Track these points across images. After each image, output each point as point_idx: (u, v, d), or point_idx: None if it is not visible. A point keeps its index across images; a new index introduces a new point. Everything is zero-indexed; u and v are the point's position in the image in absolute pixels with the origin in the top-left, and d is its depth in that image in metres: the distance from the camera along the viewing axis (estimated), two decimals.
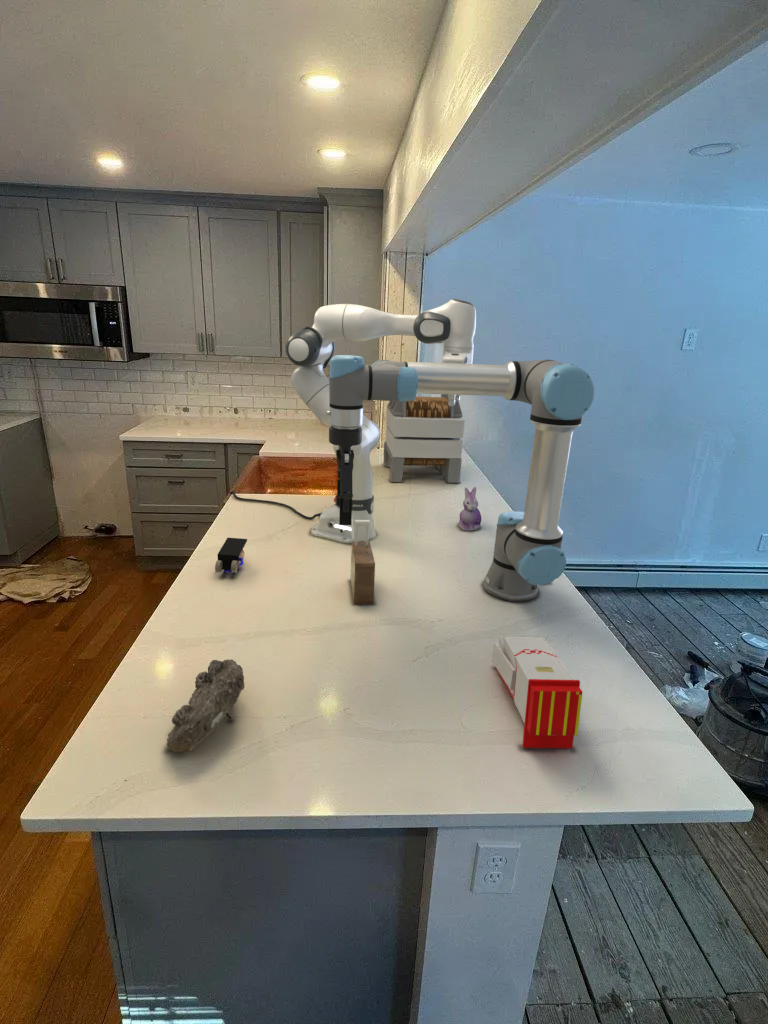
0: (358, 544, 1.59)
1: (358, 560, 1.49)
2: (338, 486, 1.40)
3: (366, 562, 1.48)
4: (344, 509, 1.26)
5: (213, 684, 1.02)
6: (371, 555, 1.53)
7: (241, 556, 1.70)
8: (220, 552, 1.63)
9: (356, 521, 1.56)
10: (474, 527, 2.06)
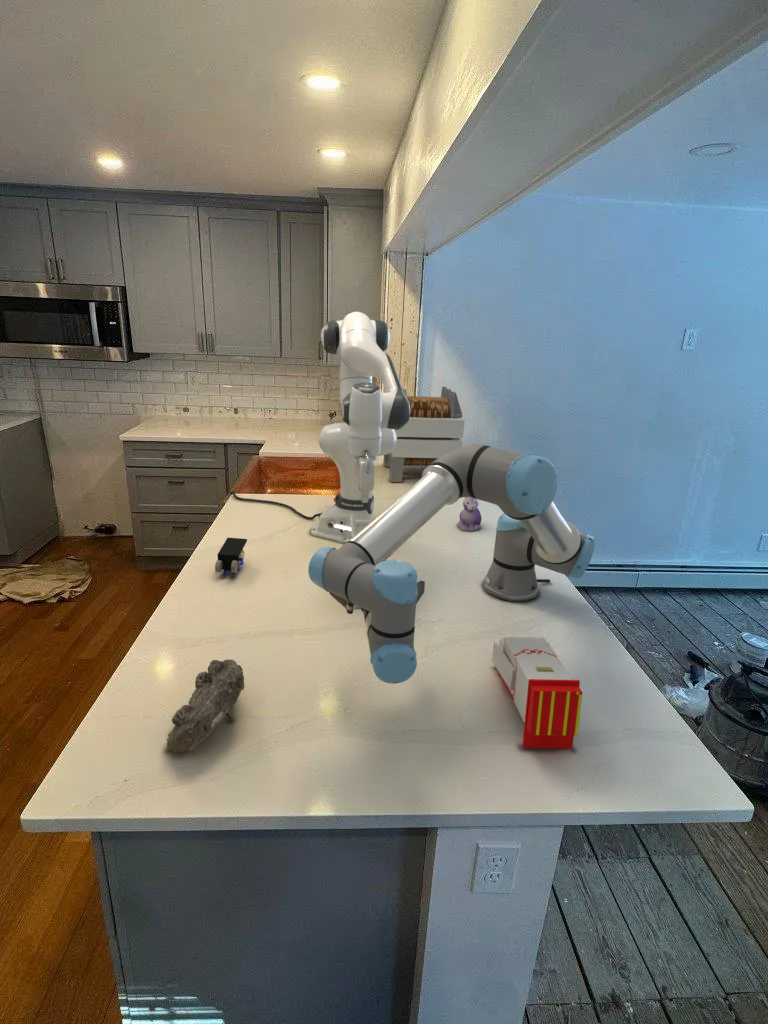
0: None
1: None
2: None
3: None
4: None
5: (213, 684, 1.02)
6: None
7: (241, 556, 1.70)
8: (220, 552, 1.63)
9: (356, 521, 1.56)
10: (474, 527, 2.06)
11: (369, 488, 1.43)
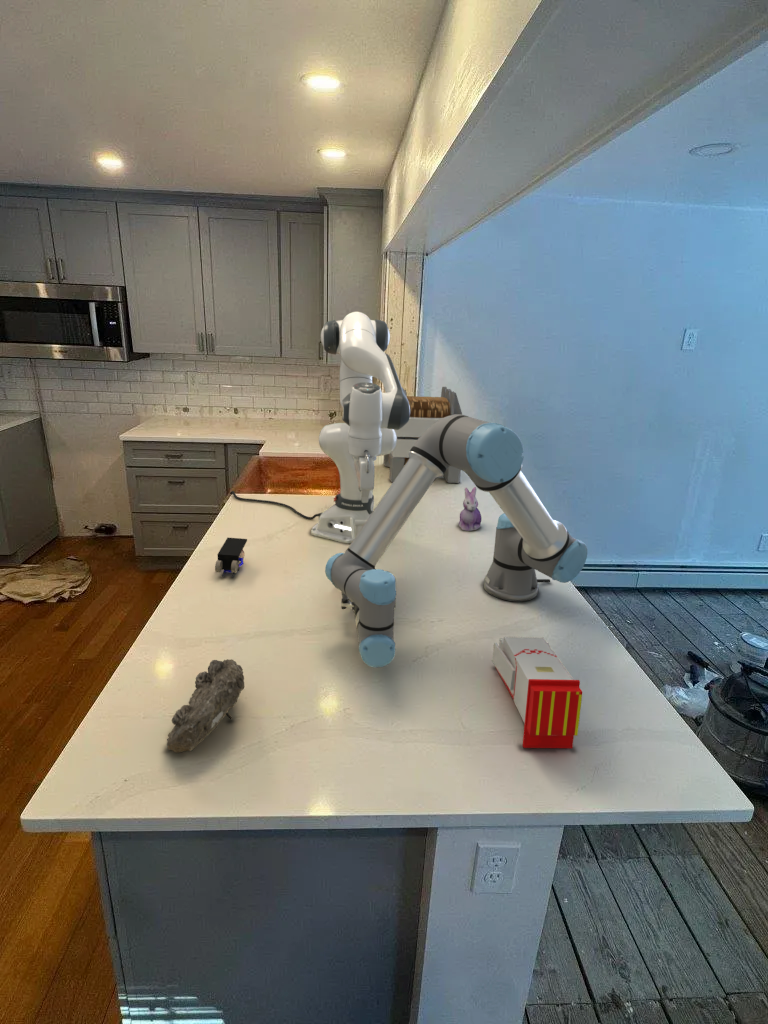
0: None
1: None
2: None
3: None
4: None
5: (213, 684, 1.02)
6: None
7: (241, 556, 1.70)
8: (220, 552, 1.63)
9: (356, 521, 1.56)
10: (474, 527, 2.06)
11: (369, 488, 1.43)
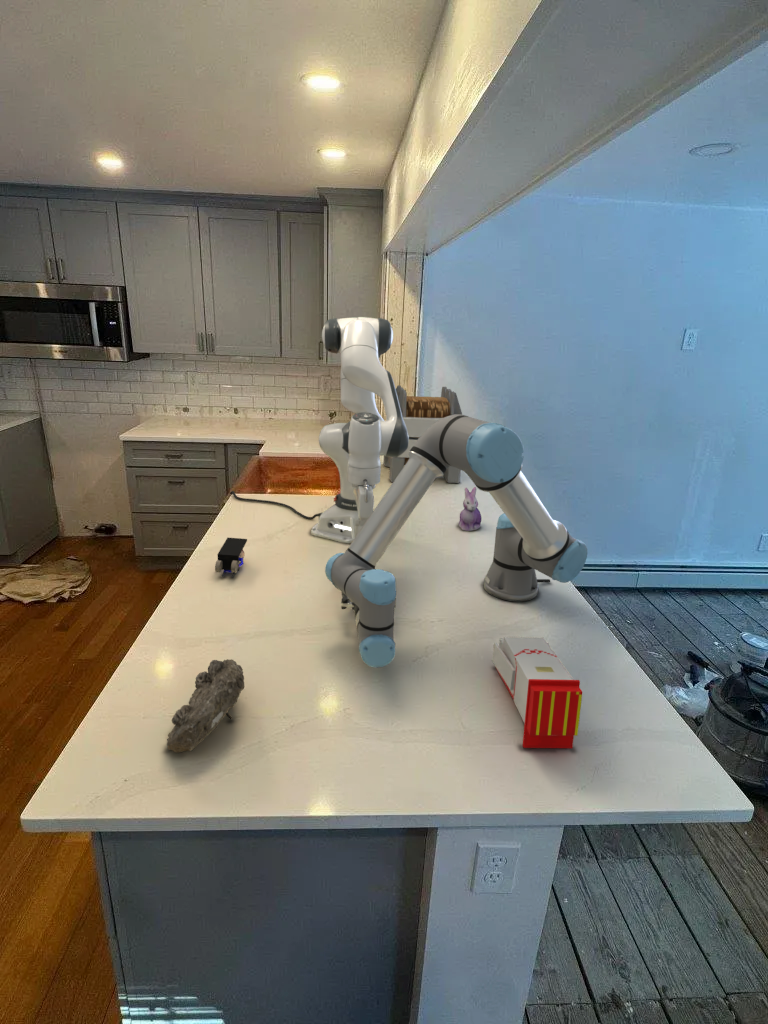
0: None
1: None
2: None
3: None
4: None
5: (213, 684, 1.02)
6: None
7: (241, 556, 1.70)
8: (220, 552, 1.63)
9: (356, 521, 1.56)
10: (474, 527, 2.06)
11: (368, 517, 1.46)
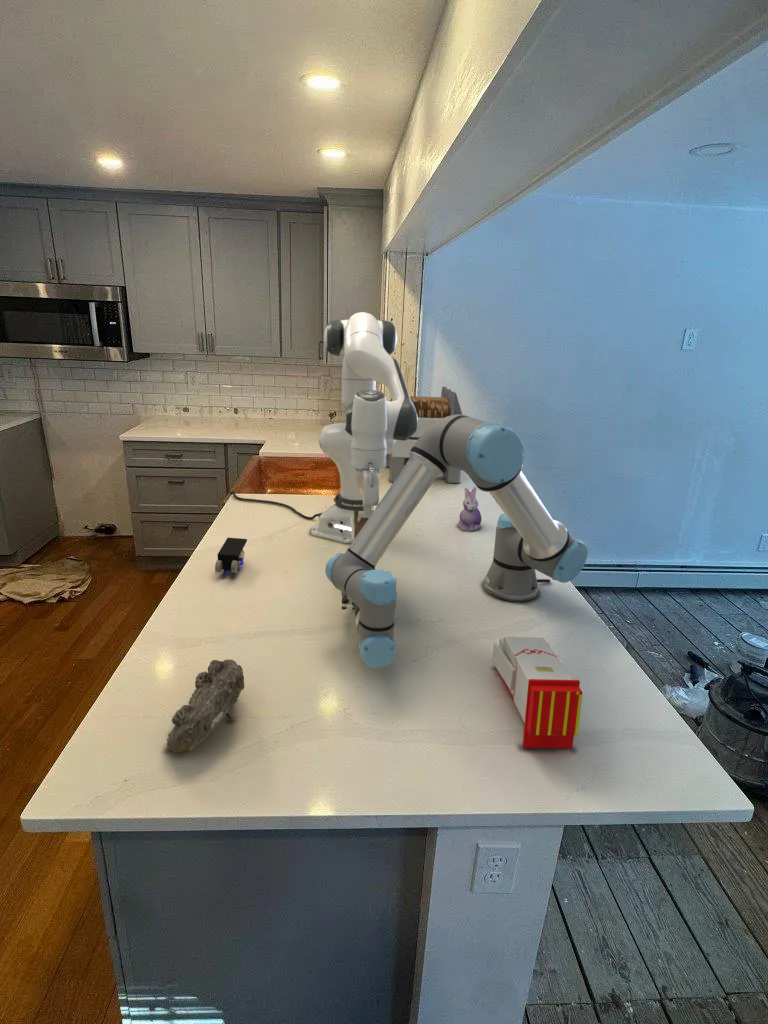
0: (361, 518, 1.50)
1: None
2: None
3: None
4: None
5: (213, 684, 1.02)
6: None
7: (241, 556, 1.70)
8: (220, 552, 1.63)
9: (360, 515, 1.43)
10: (474, 527, 2.06)
11: (373, 503, 1.32)
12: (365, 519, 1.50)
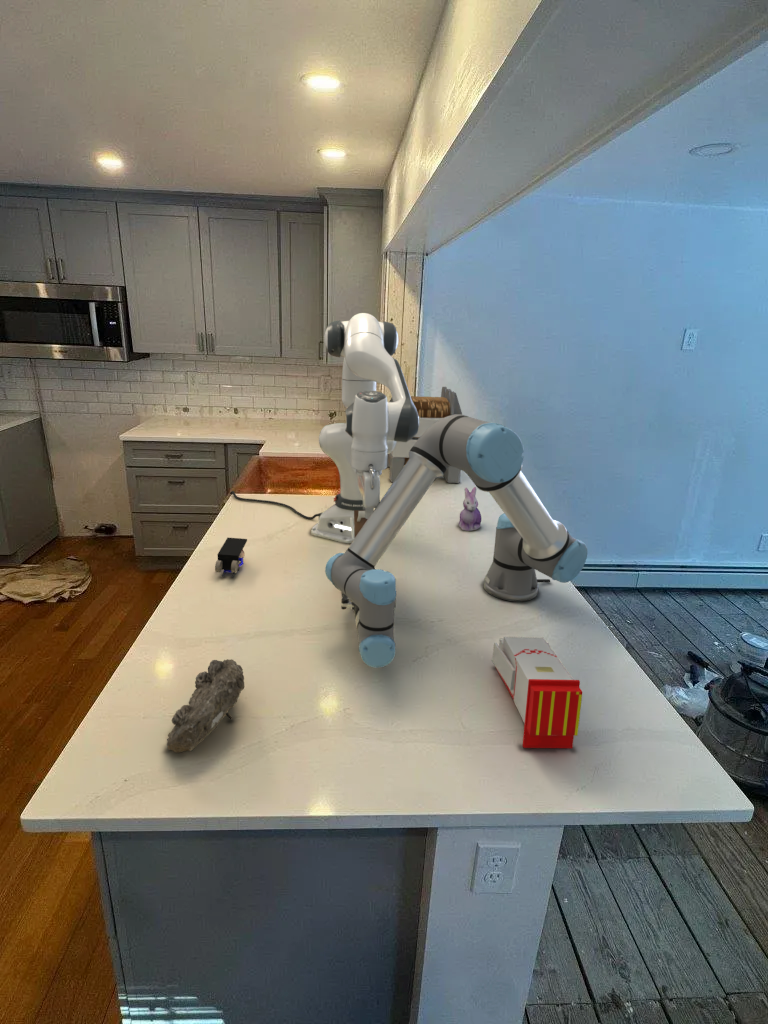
0: (361, 518, 1.50)
1: None
2: None
3: None
4: None
5: (213, 684, 1.02)
6: None
7: (241, 556, 1.70)
8: (220, 552, 1.63)
9: (360, 515, 1.43)
10: (474, 527, 2.06)
11: (374, 506, 1.31)
12: (365, 519, 1.50)
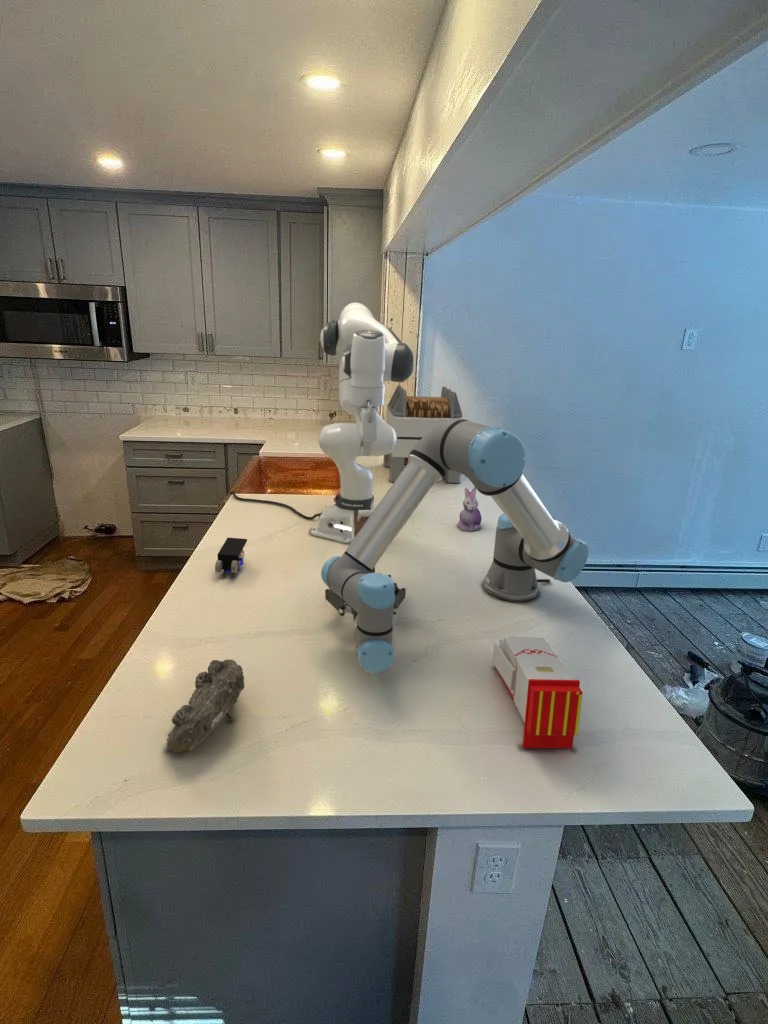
0: (361, 518, 1.51)
1: None
2: None
3: None
4: None
5: (213, 684, 1.02)
6: None
7: (241, 556, 1.70)
8: (220, 552, 1.63)
9: (360, 514, 1.43)
10: (474, 527, 2.06)
11: (372, 439, 1.37)
12: (365, 519, 1.51)
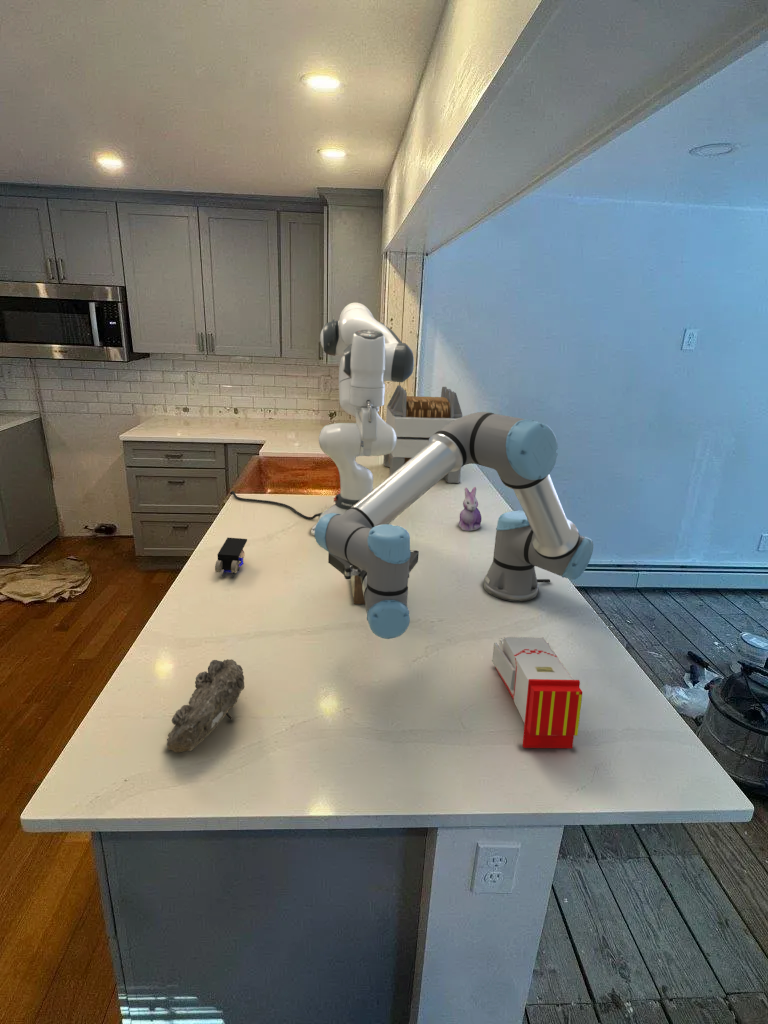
0: None
1: None
2: None
3: None
4: None
5: (213, 684, 1.02)
6: None
7: (241, 556, 1.70)
8: (220, 552, 1.63)
9: None
10: (474, 527, 2.06)
11: (372, 439, 1.37)
12: None
